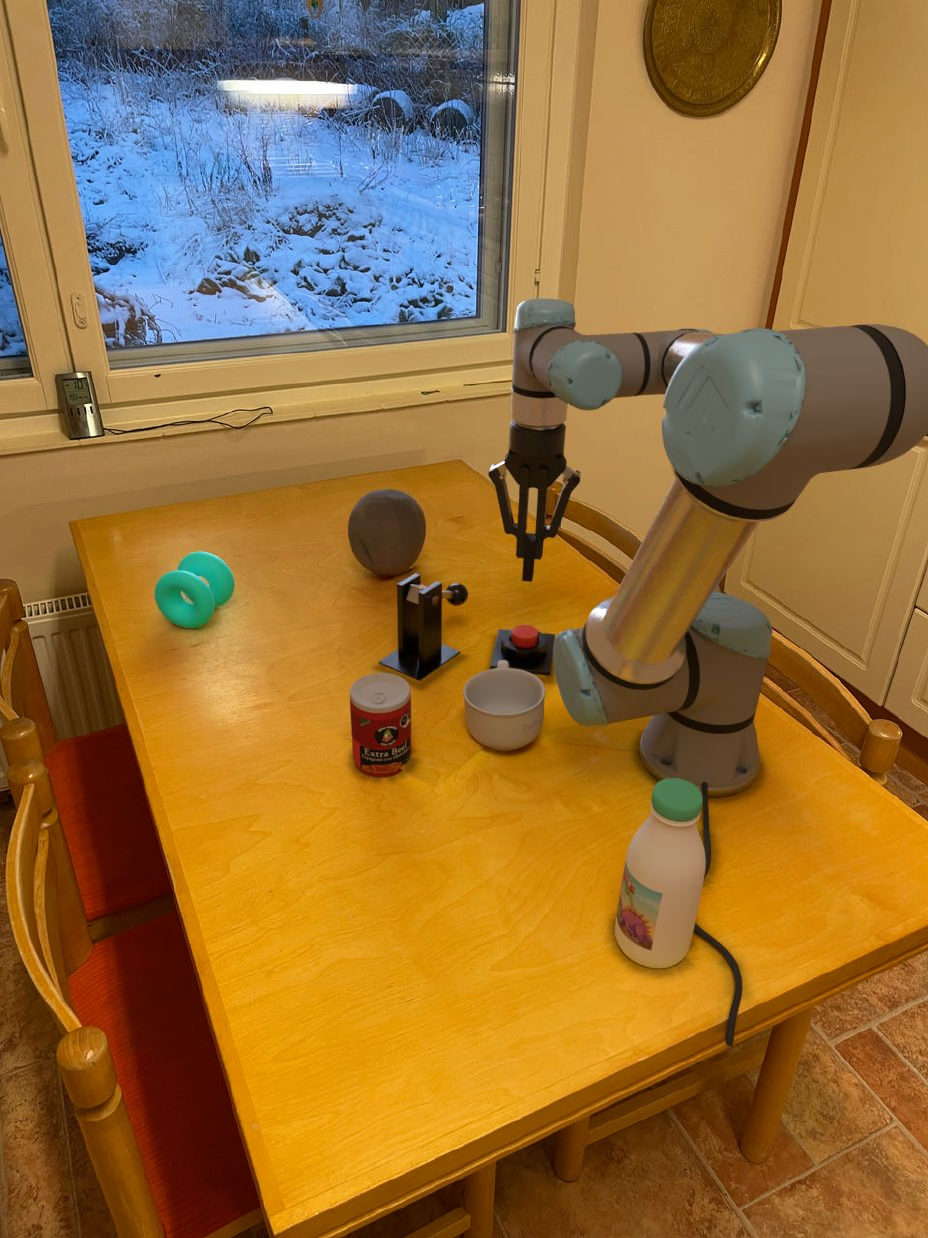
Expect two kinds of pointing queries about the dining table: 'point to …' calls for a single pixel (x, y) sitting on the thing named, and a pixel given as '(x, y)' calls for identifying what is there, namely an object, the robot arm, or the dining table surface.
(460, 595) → the lever
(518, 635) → the button
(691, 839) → the milk bottle
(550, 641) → the black button base
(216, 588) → the teal spool
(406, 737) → the canned food
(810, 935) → the dining table surface
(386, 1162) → the dining table surface
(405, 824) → the dining table surface
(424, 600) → the black lever stand
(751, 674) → the robot arm
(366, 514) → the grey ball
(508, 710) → the teacup
